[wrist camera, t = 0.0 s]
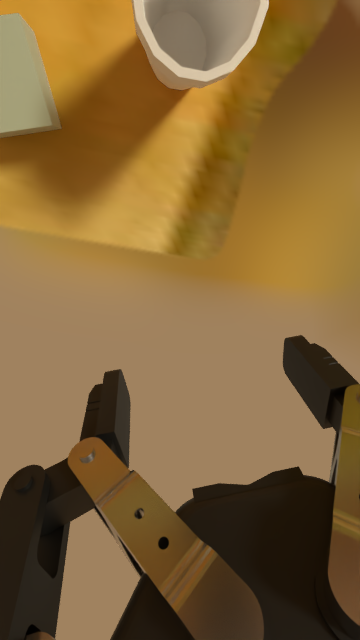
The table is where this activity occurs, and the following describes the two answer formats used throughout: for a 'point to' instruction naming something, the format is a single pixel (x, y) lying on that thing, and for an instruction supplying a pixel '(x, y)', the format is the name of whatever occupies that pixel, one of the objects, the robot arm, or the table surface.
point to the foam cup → (197, 37)
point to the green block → (23, 82)
